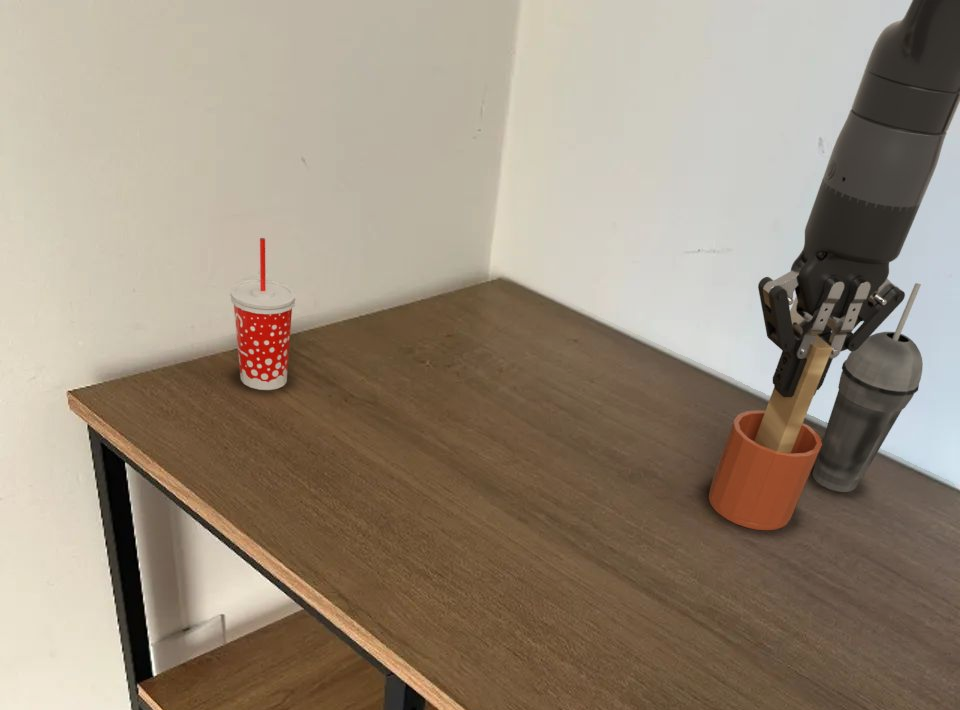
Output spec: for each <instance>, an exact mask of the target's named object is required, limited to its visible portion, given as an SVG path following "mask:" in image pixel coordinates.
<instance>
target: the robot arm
mask: <svg viewBox="0 0 960 710" xmlns="http://www.w3.org/2000/svg"><path fill="white" fill-rule="evenodd" d="M959 105H960V0H912V1H911V3H910V5H909V6H908V9H907V11H906V12H905V15H904V16H903V18H902V19H900V20H897V21H895V22H892V23H890V24H889V25H886V27H885V28H884V29H883V30H881V33H880V34H879V35H878V37H877V39H876V41H875V43H874V45H873V47H872V50H871V52H870V55H869V57H868V60H867V62H866V64H865V68H864V71H863V74H862V77H861V79H860V82H859V84H858V88H857V91H856V93H855V96H854V99H853V102H852V104H851V109H850V110H849V113H848V115H847V118H846V119H845V122H844V124H843V126H842V128H841V130H840V132H839V134H838V136H837V138H836V140H835V142H834V146H833V148H832V151H831V154H830V156H829V159H828V162H827V164H826V168H825V171H824V174H823V175H822V176H823V177H822V179H821V182H820V185H819V188H818V191H817V194H816V196H815V200H814V202H813V204H812V207H811V208H812V209H811V211H810V214H809V217H808V219H807V222H806V225H805V228H804V245H803V248H802V250H801V252H800V253H799V255H798V256H797V257H796V259H795V260H794V261H793V263H792V265H791V267H790V271H789V272H787V273H785V274H783V275H781V276H780V277H778V278H776V279H773V278H771V277H769V276H765V277H763V278H761V280H759V282H758V286H757V289H758V294H759V295H758V296H759V299H760V305H761V309H762V315H763V322H764V327H765V332H766V337H767V339H769V340H770V341H771V342H772V343H773V344H774V345H775V346H777V348H779V349H780V351H781V354H780V357H779V359H778V362H777V365H776V367H775V371H774V373H773V376H772V384H773V389H774V388H775V390H776V391H777V392H779V393H780V394H781V395H782V396H783V397H792V396H793V395H794V393H795V390H796V388H797V385H798V382H799V380H800V377H801V375H802V372H803V370H804V367H805V364H806V362H807V359H806V358H805V357H807V356H808V354H809V353H810V350H811V348H812V346H813V343H814V341H815V339H816V336H817V335H818V336H819V337H820V338H821V339H822V340H824V341H825V342H826V343H827V344H829V345H830V346H831V347H832V348H833V349H832V351H831V354H830V356H829V359H828V361H827V364H826V366H825V369H824V371H823V374H822V376H821V379H820V381H819V384H818V386H817V389H816V391H815V394H814V396H816V393H817V391H819V390H820V388H821V387H822V386H823V384H824V382H825V379H826V377H827V374H828V373H829V372H828V371H829V369H830V367H831V364H832V362H833V359H836V358H837V357H838V356H839V355H840V354H841V352H844V351H846V350H848V351H849V352H851V351H855V350H857V349H858V348H859V347H860V346H861V345H862V344H863V343H864V342H865V341H866V339H867V338H868V337H869V336H871V335H873V333H874V332H875V331H876V330H877V329H878V328H879V327H880V326H881V325H882V323H884V321H885V320H886V319H887V318H888V317H889V316H890V315H891V314H892V313H893V312H894V311H895V310H896V309H897V308H898V307H899V306H900V304H901V303H902V302H903V301H904V300H905V297H906V292H905V291H903V290H902V289H900V287H898V286H897V285H895V284H894V283H892V282H891V281H890V280H889V279H888V277H889V274H890V263H891V262H893V261H895V260H897V259H898V257H899V256H900V255H901V252H902V250H903V247H904V245H905V242H906V239H907V238H908V235H909V234H910V233H909V232H910V230H911V228H912V226H913V224H914V221H915V218H916V216H917V214H918V211H919V210H920V207H921V204H922V202H923V200H924V197H925V195H926V192H927V190H928V187H929V185H930V183H931V181H932V178H933V176H934V173H935V170H936V168H937V164H938V162H939V159H940V156H941V153H942V148H943V145H944V141H945V139H946V136H947V134H948V132H947V131H948V130H949V128H950V126H951V124H952V122H953V119H954V117H955V114H956V112H957V109H958V107H959ZM794 292H795V298H794ZM793 298H794V299H793ZM790 306H791V308H790ZM860 323H861V324H860ZM859 324H860V325H859ZM858 325H859V327H857V326H858ZM856 327H857V329H856V330H854V329H855V328H856ZM802 330H803V331H802ZM853 331H854V332H853ZM801 332H802V334H801ZM800 334H801V336H800ZM799 337H800V338H799Z"/></svg>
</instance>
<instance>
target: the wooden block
mask: <svg viewBox="0 0 960 710" xmlns="http://www.w3.org/2000/svg"><path fill="white" fill-rule="evenodd" d="M802 331H803V330H802ZM801 334H802V332H801ZM801 334H800V336H801ZM799 338H800V337H799ZM832 349H833V348H832V347H831V346H830V345H829V344H827V343H826V342H825V341H824V340H822V339H821V338H820V337H819V336H818V335H817V336H816V339H815V341H814V343H813V346H812V348H811V350H810V353H809V354H808V356H807V357H805V358H806V359H807V362H806V364H805V367H804V370H803V372H802V375H801V377H800V380H799V382H798V385H797V388H796V390H795V393H794V395H793V396H792V397H783V396H782V395H781V394H780V393H779V392H777V391H776V390H775V388H774V387H773V389H772V392H771V395H770V398H769V400H768V403H767V405H766V409H765V410H764V411H765V414H764V416H763V419H762V422H761V425H760V427H759V430H758V433H757V435H756V438H755V441H754V442H756V443H757V444H759V445H761V446H764V447H766V448H769V449H772V450H775V451H779V452H785V453H791V451H792V448H793V446H794V443H795V441H796V438H797V436H798V433H799V431H800V428H801V426H802V423H804V421H805V418H806V416H807V413H808V411H809V410H810V409H809V408H810V406H811V403H812V401H813V399H814V397H815V395H816V394H815V391H816V389H817V386H818V384H819V381H820V379H821V376H822V374H823V371H824V369H825V366H826V364H827V361H828V359H829V356H830V354H831V351H832ZM816 392H817V391H816ZM814 394H815V395H814Z"/></svg>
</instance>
